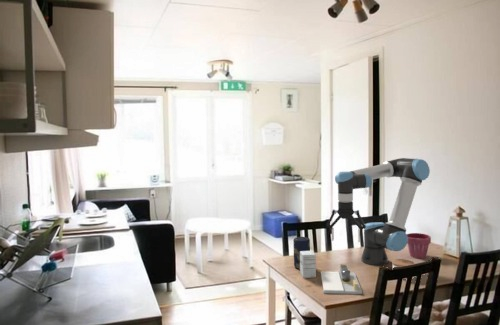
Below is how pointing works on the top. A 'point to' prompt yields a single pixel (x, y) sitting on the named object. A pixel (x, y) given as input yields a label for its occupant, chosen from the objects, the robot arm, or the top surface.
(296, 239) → the canister
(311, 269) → the supplement box
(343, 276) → the arm
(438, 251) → the top surface
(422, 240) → the plant pot
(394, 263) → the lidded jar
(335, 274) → the door board
